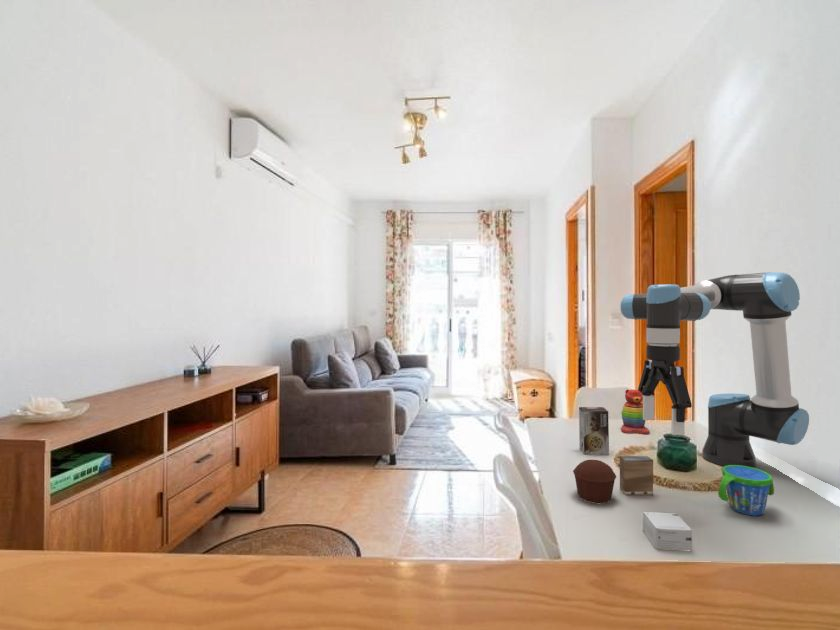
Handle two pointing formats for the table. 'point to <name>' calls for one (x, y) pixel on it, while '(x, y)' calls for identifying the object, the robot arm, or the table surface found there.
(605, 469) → the muffin
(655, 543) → the small box
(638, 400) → the stacking bear
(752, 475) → the snack cup
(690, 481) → the table surface
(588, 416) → the coffee box
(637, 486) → the brown thick block
